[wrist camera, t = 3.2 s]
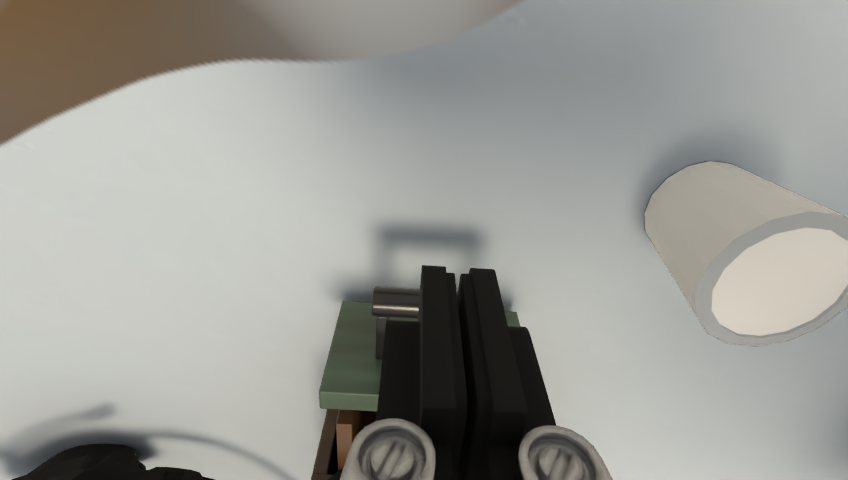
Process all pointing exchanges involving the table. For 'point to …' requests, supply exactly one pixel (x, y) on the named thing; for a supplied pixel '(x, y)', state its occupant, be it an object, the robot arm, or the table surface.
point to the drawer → (364, 359)
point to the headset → (104, 466)
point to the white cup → (749, 253)
